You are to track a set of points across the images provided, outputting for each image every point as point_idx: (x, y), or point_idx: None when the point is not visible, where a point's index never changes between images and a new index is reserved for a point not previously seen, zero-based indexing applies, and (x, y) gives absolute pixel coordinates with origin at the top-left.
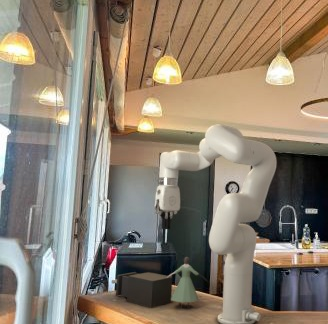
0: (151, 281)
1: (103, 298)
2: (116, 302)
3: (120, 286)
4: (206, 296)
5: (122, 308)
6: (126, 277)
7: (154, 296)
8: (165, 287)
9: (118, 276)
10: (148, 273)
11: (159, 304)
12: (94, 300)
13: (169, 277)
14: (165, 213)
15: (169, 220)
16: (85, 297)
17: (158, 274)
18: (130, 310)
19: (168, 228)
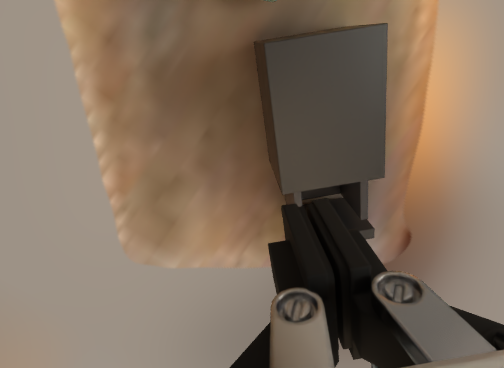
0: (386, 31)
1: (374, 213)
2: None
3: (350, 210)
4: (90, 17)
5: (407, 85)
6: (367, 197)
7: (347, 27)
8: (297, 36)
9: (373, 229)
10: (298, 173)
11: (310, 32)
12: (402, 209)
13: (282, 40)
14: (481, 343)
15: (321, 263)
16: (398, 247)
17: (279, 130)
18: (407, 48)
19: (302, 208)
